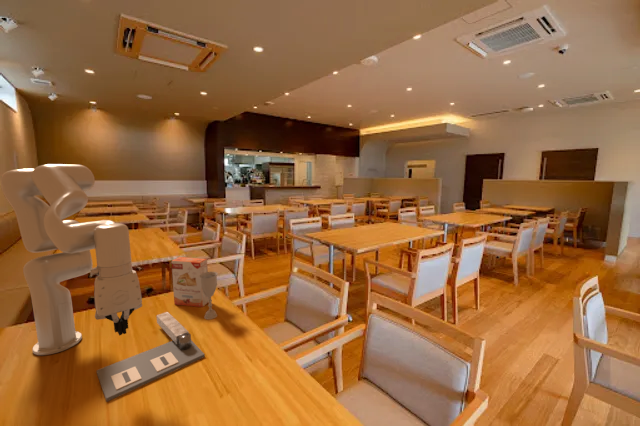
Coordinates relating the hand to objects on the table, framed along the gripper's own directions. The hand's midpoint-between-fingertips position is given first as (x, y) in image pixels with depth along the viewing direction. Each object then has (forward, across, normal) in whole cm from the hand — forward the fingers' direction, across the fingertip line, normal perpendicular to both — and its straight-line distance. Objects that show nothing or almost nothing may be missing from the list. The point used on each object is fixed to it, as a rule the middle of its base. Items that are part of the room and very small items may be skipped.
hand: (121, 332), depth 80 cm
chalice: (+15, +34, +19) cm, 41 cm away
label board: (+15, +8, +2) cm, 17 cm away
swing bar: (+14, +17, +13) cm, 26 cm away
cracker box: (+15, +32, +36) cm, 51 cm away
